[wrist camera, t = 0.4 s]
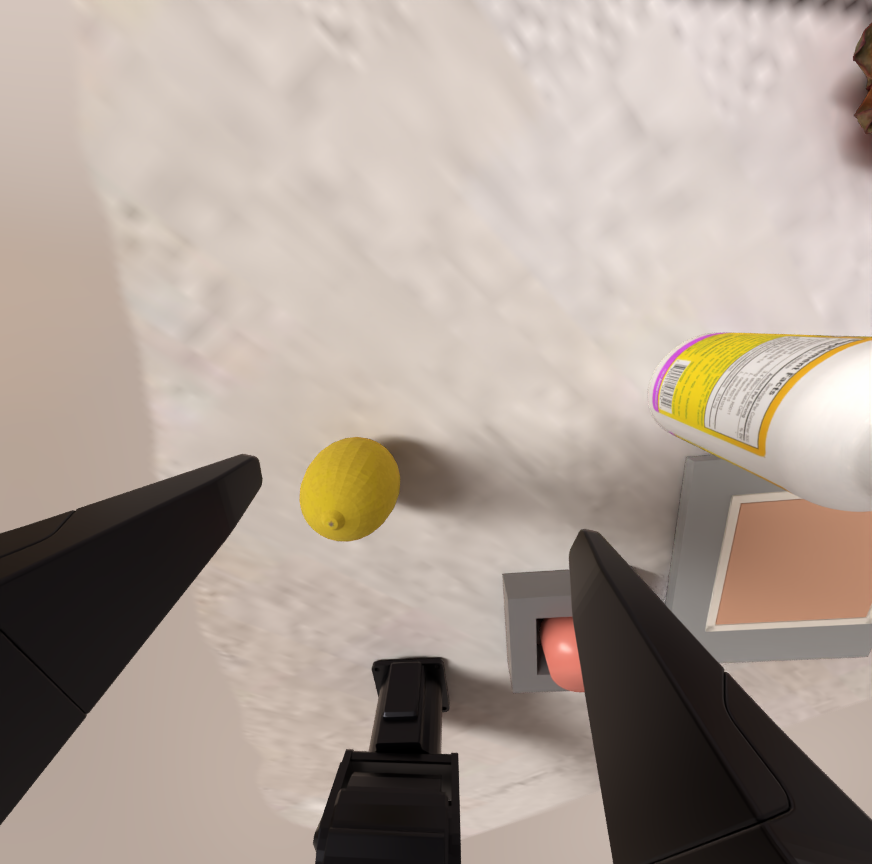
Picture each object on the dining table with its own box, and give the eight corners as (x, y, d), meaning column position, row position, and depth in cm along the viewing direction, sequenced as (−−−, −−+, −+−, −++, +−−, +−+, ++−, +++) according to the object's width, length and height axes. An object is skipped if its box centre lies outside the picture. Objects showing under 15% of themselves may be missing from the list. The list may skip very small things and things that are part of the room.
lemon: (407, 493, 24) (389, 572, 17) (334, 491, 24) (282, 568, 17) (406, 422, 22) (384, 474, 15) (326, 421, 23) (265, 471, 15)
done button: (600, 651, 27) (618, 690, 24) (539, 654, 27) (549, 693, 24) (603, 605, 25) (623, 640, 22) (538, 608, 26) (549, 644, 23)
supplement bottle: (766, 398, 21) (1208, 504, 9) (667, 452, 22) (928, 607, 10) (729, 307, 19) (1207, 284, 7) (624, 372, 21) (874, 444, 9)
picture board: (855, 647, 27) (869, 658, 26) (657, 656, 28) (664, 666, 28) (942, 435, 21) (963, 439, 20) (686, 456, 22) (695, 462, 22)
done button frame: (622, 657, 29) (637, 688, 26) (507, 663, 29) (512, 693, 27) (631, 565, 25) (649, 590, 23) (502, 574, 26) (507, 599, 24)
